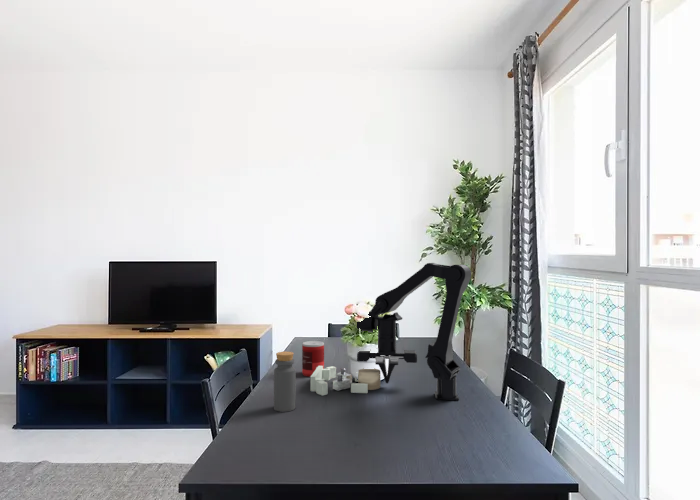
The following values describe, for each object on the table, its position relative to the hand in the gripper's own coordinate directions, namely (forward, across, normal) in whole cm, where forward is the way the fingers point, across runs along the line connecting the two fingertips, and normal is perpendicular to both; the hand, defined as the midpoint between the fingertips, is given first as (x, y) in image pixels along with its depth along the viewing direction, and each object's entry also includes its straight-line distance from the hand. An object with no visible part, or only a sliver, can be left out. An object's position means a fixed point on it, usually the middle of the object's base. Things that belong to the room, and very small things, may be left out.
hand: (387, 383), depth 141 cm
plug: (+1, +6, 0) cm, 6 cm away
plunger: (+1, +14, -4) cm, 15 cm away
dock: (+1, +14, 0) cm, 14 cm away
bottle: (+1, +27, +23) cm, 36 cm away
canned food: (+1, +26, -13) cm, 29 cm away
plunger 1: (+1, +14, +4) cm, 15 cm away
